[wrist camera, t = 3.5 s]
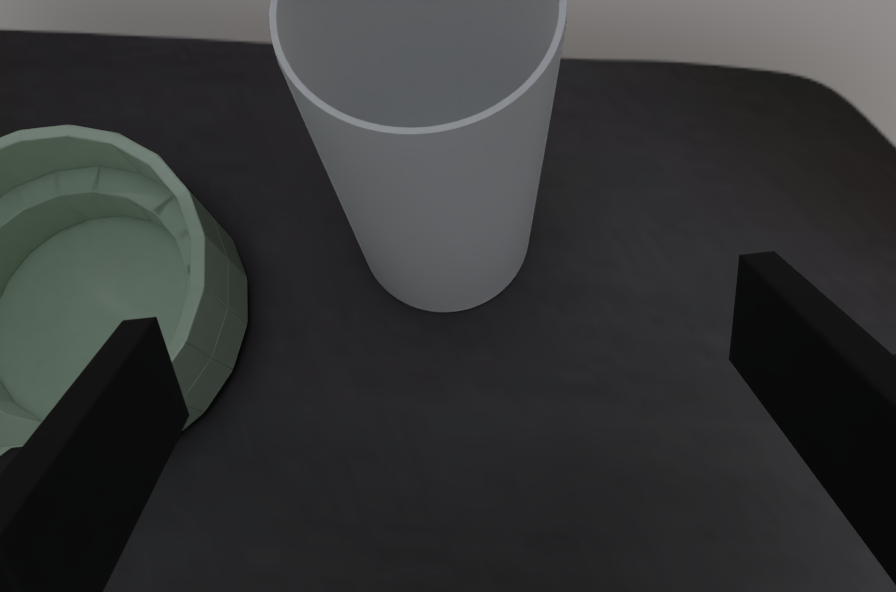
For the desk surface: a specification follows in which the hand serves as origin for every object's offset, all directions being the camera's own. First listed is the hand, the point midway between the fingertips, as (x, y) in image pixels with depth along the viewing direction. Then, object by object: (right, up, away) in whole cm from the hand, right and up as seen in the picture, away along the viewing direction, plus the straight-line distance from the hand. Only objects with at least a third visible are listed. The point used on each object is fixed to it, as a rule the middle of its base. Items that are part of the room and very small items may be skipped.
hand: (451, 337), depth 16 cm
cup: (0, +4, +18) cm, 19 cm away
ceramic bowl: (-17, 0, +18) cm, 24 cm away
